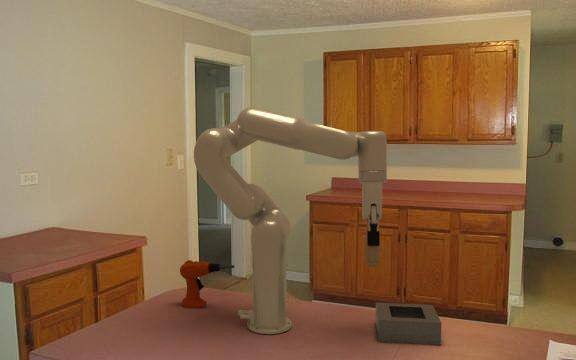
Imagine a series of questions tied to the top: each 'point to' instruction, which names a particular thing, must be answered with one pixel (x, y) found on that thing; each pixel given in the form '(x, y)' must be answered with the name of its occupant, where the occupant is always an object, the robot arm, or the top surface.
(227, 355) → the top surface
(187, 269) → the toy drill
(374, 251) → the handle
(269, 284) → the robot arm
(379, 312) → the socket block
